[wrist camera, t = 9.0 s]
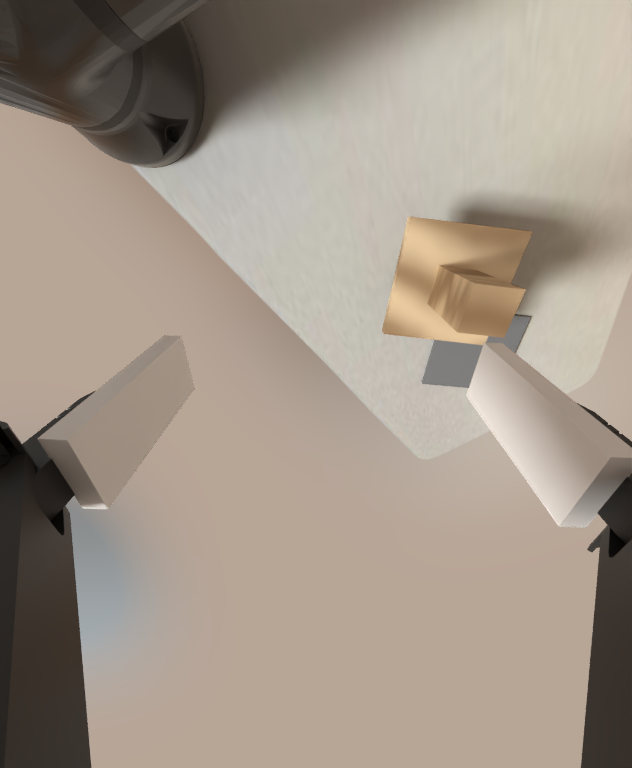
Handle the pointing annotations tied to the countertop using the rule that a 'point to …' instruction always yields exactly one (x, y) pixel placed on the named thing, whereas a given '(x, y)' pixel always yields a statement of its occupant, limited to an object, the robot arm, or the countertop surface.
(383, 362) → the countertop surface
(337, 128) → the countertop surface
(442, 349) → the mat
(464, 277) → the wooden plaque with block
